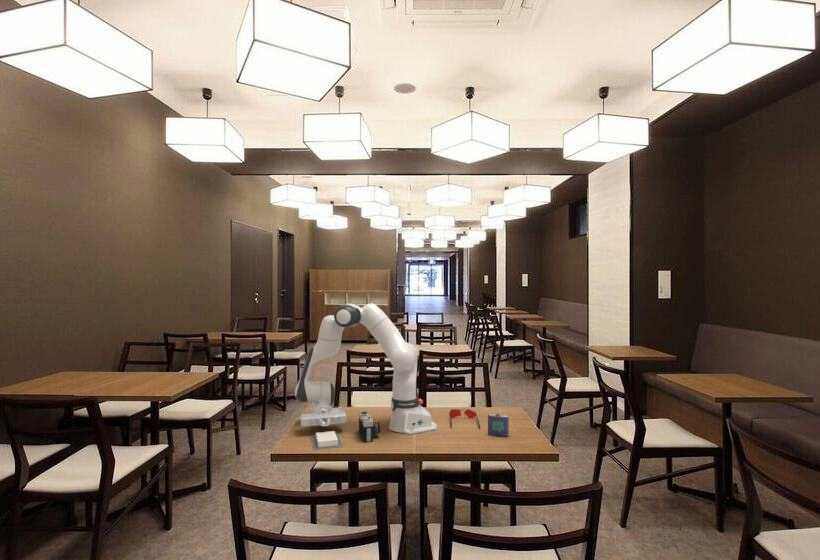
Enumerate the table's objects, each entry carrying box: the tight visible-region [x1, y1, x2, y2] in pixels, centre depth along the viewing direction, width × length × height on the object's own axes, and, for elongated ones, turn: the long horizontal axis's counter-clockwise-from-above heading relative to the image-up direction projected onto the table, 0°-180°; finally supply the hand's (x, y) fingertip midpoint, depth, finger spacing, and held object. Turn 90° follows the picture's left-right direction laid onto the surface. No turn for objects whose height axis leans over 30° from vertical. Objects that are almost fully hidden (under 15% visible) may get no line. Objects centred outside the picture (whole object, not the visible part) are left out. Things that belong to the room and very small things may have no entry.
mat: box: [309, 431, 344, 451], centre depth 185 cm, size 12×18×1 cm, turn 17°
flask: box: [487, 411, 510, 438], centre depth 195 cm, size 9×3×11 cm, turn 78°
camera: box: [358, 411, 381, 444], centre depth 191 cm, size 14×9×10 cm, turn 8°
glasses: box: [448, 408, 481, 430], centre depth 212 cm, size 14×16×5 cm
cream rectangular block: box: [315, 430, 338, 448], centre depth 184 cm, size 8×3×11 cm
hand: (325, 424), depth 188 cm, fingers closed
